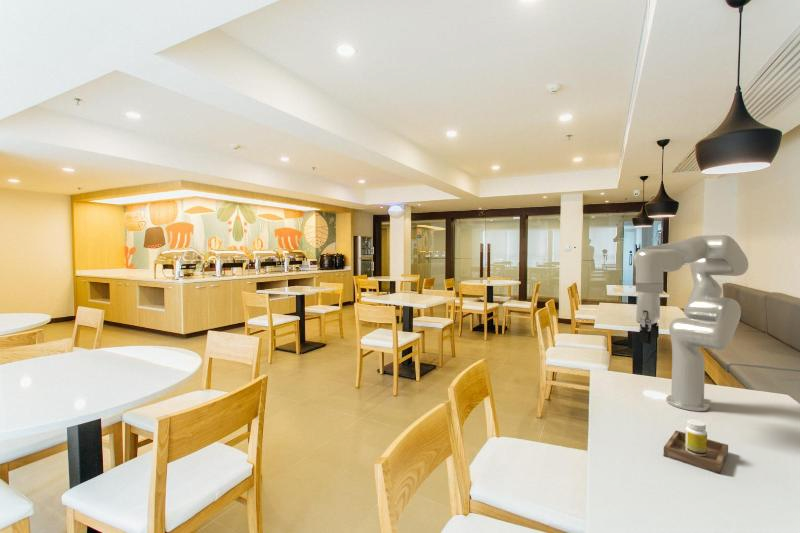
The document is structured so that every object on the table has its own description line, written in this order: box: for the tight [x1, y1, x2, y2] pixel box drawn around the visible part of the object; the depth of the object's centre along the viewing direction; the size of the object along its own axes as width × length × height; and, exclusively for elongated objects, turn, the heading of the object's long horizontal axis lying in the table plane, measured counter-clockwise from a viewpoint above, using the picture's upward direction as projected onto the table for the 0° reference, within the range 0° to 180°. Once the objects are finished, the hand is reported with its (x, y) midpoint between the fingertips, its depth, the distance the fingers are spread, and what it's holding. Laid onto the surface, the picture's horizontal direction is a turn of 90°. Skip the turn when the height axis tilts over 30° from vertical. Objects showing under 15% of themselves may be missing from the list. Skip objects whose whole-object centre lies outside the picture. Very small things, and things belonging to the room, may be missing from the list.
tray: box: [663, 430, 729, 475], centre depth 105 cm, size 14×12×2 cm
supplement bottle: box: [684, 419, 708, 456], centre depth 105 cm, size 5×5×8 cm
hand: (649, 339), depth 125 cm, fingers open, 9 cm apart
